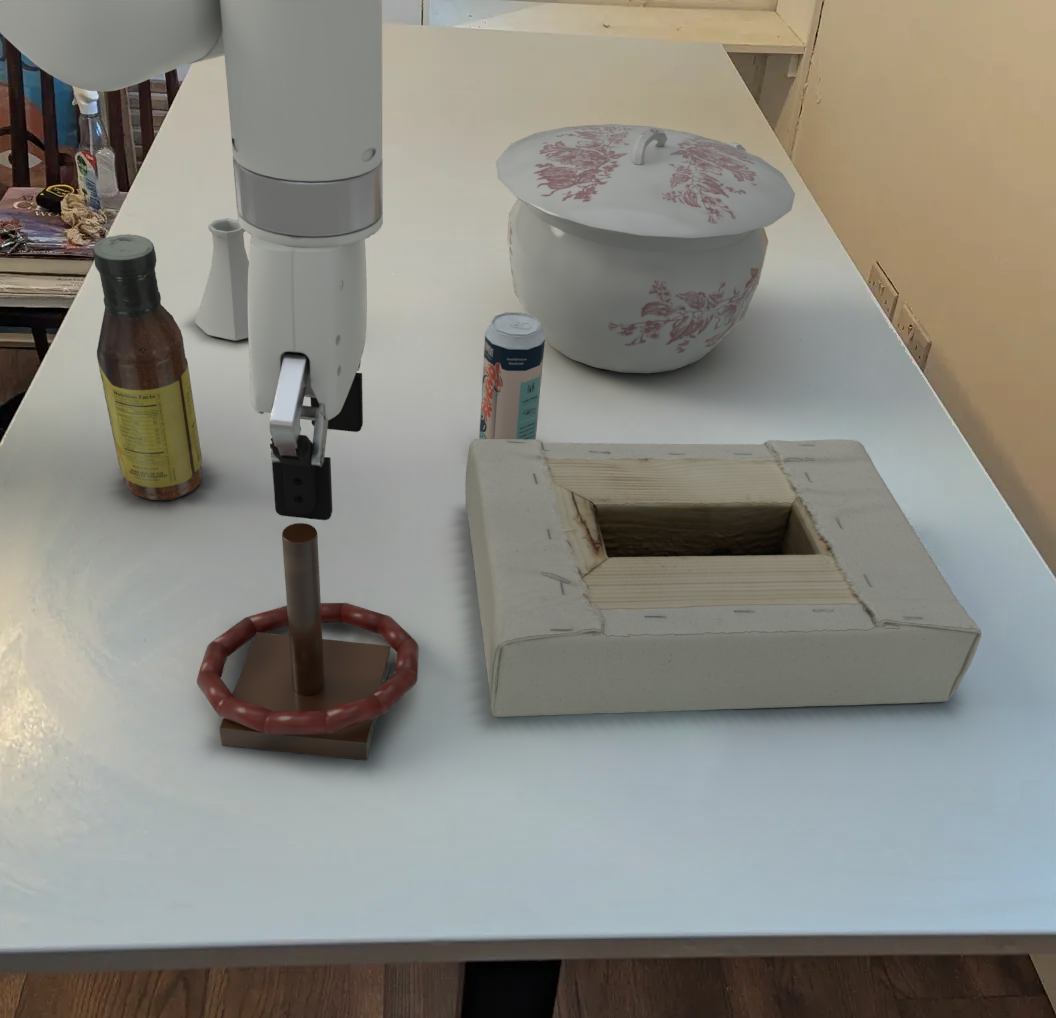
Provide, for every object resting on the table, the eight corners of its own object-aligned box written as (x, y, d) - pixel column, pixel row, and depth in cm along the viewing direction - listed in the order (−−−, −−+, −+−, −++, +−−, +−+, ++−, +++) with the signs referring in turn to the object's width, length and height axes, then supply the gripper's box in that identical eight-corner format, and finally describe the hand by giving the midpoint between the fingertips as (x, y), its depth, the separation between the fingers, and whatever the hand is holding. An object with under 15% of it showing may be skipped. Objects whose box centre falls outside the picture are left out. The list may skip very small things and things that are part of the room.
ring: (182, 741, 70) (178, 722, 69) (221, 617, 82) (219, 600, 81) (415, 737, 71) (414, 718, 70) (421, 615, 83) (420, 598, 82)
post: (221, 745, 72) (198, 572, 64) (257, 648, 79) (241, 481, 71) (366, 760, 72) (363, 590, 64) (390, 662, 79) (390, 496, 71)
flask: (181, 325, 114) (169, 224, 107) (236, 301, 119) (227, 203, 112) (235, 349, 111) (226, 247, 105) (289, 323, 116) (283, 225, 109)
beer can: (485, 433, 103) (493, 305, 95) (539, 443, 102) (551, 315, 95) (472, 462, 99) (479, 331, 91) (528, 472, 99) (539, 341, 91)
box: (489, 729, 75) (957, 706, 80) (494, 637, 71) (993, 618, 75) (457, 520, 93) (842, 511, 98) (460, 435, 89) (865, 430, 93)
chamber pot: (506, 413, 106) (523, 183, 92) (470, 281, 126) (479, 77, 113) (802, 408, 110) (858, 188, 97) (720, 281, 131) (757, 86, 118)
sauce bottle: (158, 453, 97) (123, 216, 84) (220, 476, 95) (195, 237, 82) (102, 491, 92) (57, 247, 79) (167, 516, 90) (131, 270, 77)
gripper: (277, 131, 68) (292, 393, 79) (189, 251, 54) (222, 547, 65) (406, 144, 68) (404, 404, 79) (350, 268, 54) (356, 561, 65)
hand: (321, 469), depth 72 cm, fingers open, 9 cm apart
